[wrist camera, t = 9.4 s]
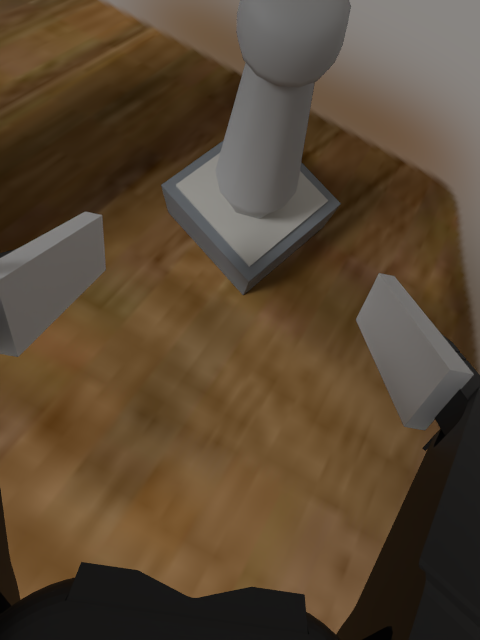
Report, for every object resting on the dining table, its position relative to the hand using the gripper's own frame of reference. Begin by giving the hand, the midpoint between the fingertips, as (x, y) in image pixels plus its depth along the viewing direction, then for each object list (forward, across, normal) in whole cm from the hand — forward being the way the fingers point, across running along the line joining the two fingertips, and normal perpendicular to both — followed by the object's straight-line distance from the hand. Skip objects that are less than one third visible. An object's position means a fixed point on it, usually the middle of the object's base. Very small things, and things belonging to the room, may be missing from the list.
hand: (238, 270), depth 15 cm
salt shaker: (+12, 0, +1) cm, 12 cm away
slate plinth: (+15, 0, -2) cm, 15 cm away
